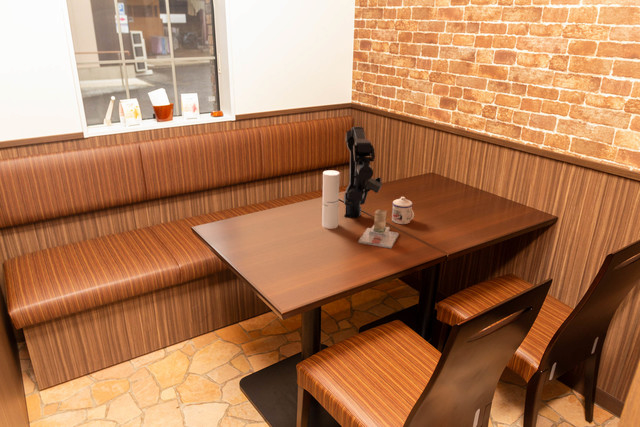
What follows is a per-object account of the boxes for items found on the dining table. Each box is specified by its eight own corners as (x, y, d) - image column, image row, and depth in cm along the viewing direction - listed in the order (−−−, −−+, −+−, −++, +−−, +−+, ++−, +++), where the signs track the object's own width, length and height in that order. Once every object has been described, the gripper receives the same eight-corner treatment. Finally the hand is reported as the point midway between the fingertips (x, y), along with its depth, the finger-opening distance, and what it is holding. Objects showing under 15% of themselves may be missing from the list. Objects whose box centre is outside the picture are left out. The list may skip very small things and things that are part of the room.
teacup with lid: (387, 219, 217) (388, 196, 213) (401, 215, 222) (403, 192, 217) (405, 228, 208) (407, 204, 204) (419, 223, 213) (422, 200, 208)
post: (373, 230, 195) (374, 212, 192) (376, 226, 199) (377, 209, 196) (383, 231, 194) (384, 214, 191) (385, 228, 197) (386, 210, 194)
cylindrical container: (336, 229, 206) (338, 175, 196) (320, 227, 207) (321, 174, 198) (339, 223, 213) (340, 170, 203) (323, 221, 214) (324, 169, 204)
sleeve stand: (358, 242, 194) (359, 233, 192) (367, 229, 206) (368, 220, 205) (391, 248, 190) (392, 238, 188) (398, 234, 202) (399, 225, 200)
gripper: (375, 181, 179) (372, 218, 185) (386, 168, 195) (384, 202, 201) (347, 178, 183) (346, 214, 189) (361, 165, 199) (359, 199, 205)
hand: (360, 207), depth 196 cm, fingers open, 9 cm apart
